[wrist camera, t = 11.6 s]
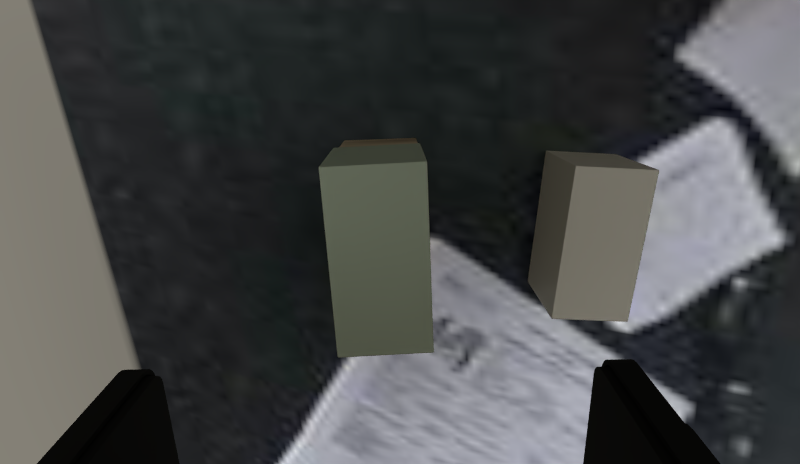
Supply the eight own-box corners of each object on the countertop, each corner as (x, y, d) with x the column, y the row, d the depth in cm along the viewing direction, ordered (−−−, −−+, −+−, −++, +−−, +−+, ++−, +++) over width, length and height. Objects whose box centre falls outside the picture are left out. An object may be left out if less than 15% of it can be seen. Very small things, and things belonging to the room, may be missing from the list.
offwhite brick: (545, 150, 29) (576, 166, 24) (614, 153, 29) (659, 170, 24) (527, 280, 31) (551, 318, 26) (591, 283, 31) (627, 321, 26)
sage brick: (333, 147, 23) (318, 167, 19) (419, 143, 23) (427, 161, 19) (347, 304, 26) (337, 357, 21) (426, 300, 26) (433, 352, 21)
